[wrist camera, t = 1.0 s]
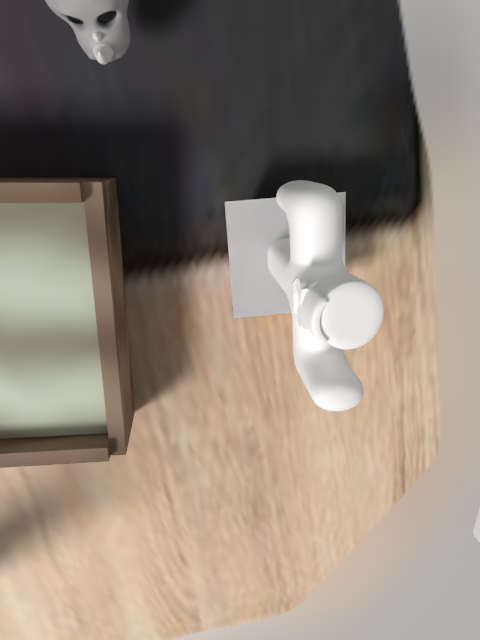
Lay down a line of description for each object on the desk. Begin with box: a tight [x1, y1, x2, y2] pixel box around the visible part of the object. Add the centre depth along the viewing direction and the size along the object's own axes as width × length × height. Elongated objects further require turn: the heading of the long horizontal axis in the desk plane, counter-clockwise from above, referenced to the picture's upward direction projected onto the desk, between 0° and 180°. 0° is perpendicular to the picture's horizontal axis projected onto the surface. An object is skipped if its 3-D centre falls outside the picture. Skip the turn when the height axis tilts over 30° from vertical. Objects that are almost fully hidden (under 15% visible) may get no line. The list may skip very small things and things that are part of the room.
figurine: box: [225, 180, 384, 411], centre depth 25 cm, size 7×9×15 cm
